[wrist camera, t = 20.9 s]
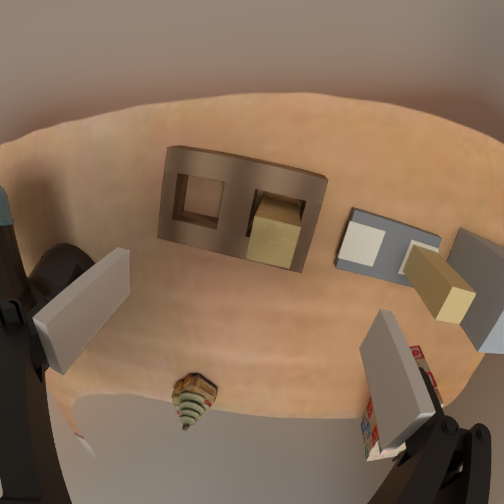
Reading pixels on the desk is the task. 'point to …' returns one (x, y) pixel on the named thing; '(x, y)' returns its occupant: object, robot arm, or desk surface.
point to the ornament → (193, 398)
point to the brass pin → (275, 230)
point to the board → (404, 262)
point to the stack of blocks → (370, 424)
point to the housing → (481, 289)
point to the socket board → (234, 200)
